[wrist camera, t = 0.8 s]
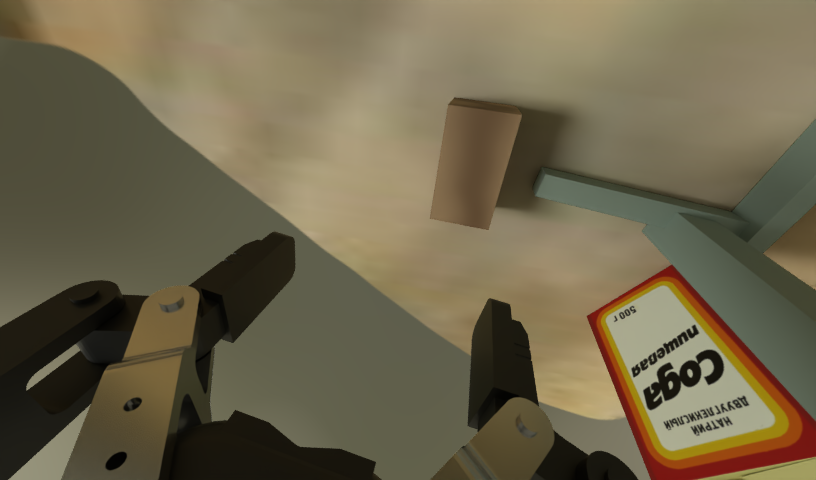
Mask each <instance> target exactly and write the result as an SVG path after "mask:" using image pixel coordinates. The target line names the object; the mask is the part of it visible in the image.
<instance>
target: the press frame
mask: <svg viewBox="0 0 816 480" xmlns="http://www.w3.org/2000/svg"><path fill="white" fill-rule="evenodd" d="M533 191H534V194H535V196H536V197H540V198H544V199H548V200H552V201H556V202H560V203H564V204H568V205H572V206H576V207H580V208H585V209H589V210H593V211H597V212H601V213H605V214H609V215H613V216H617V217H621V218H625V219H629V220H633V221H637V222H641V223H645V224H647V225H646V227H645V228H644V229H643V231H642V232H643V233H644V234H645V235H646V236H647V238H648V239H649V240H650V241H651V242H652V243H653V244H654V245H655V246H656V247H657V248H658V250H659V251H660V252H661V253H662V254H663V255H664V256H665V257H666V258H667V259H668V260H669V262H670V263H671V264H672V265H673V266H674V267H675V268H676V269H677V270H678V271H679V272H680V274H681V275H682V276H683V277H684V278H685V279H686V280H687V281H688V282H689V283H690V285H691V286H692V287H693V288H694V289H695V290H696V291H697V292H698V293H699V294H700V295H701V297H702V298H703V299H704V300H705V301H706V302H707V303H708V304H709V305H710V306H711V307H712V309H713V310H714V311H715V312H716V313H717V314H718V315H719V316H720V317H721V318H722V319H723V321H724V322H725V323H726V324H727V325H728V326H729V327H730V328H731V329H732V330H733V331H734V333H735V334H736V335H737V336H738V337H739V338H740V339H741V340H742V341H743V342H744V343H745V345H746V346H747V347H748V348H749V349H750V350H751V351H752V352H753V353H754V354H755V355H756V357H757V358H758V359H759V360H760V361H761V362H762V363H763V364H764V365H765V366H766V367H767V369H768V370H769V371H770V372H771V373H772V374H773V375H774V376H775V377H776V378H777V379H778V381H779V382H780V383H781V384H782V385H783V386H784V387H785V388H786V389H787V390H788V391H789V393H790V394H791V395H792V396H793V397H794V398H795V399H796V400H797V401H798V402H799V403H800V405H801V406H802V407H803V408H804V409H805V410H806V411H807V412H808V413H809V414H810V415H811V417H812V418H813V419H814V420H815V421H816V290H814V289H813V288H811V287H810V286H809V285H807V284H806V283H804V282H803V281H801V280H800V279H798V278H797V277H796V276H794V275H793V274H791V273H790V272H788V271H787V270H786V269H784V268H783V267H781V266H780V265H778V264H777V263H775V262H774V261H773V260H771V259H770V258H768V257H767V256H765V255H764V254H763V253H764V252H765V251H766V250H767V249H768V248H769V247H770V246H771V245H772V244H773V243H774V242H776V241H777V240H778V239H779V238H780V237H781V236H782V235H783V234H784V233H785V232H786V231H787V230H788V229H789V228H791V227H792V226H793V225H794V224H795V223H796V222H797V221H798V220H799V219H800V218H801V217H802V216H803V215H805V214H806V213H807V212H808V211H809V210H810V209H811V208H812V207H813V206H814V205H815V204H816V119H815V120H814V121H813V123H812V124H811V125H810V126H809V127H808V128H807V129H806V130H805V131H804V132H803V134H802V135H801V136H800V137H799V138H798V139H797V140H796V141H795V142H794V144H793V145H792V146H791V147H790V148H789V149H788V150H787V151H786V152H785V153H784V155H783V156H782V157H781V158H780V159H779V160H778V161H777V162H776V163H775V164H774V166H773V167H772V168H771V169H770V170H769V171H768V172H767V173H766V174H765V176H764V177H763V178H762V179H761V180H760V181H759V182H758V183H757V184H756V185H755V187H754V188H753V189H752V190H751V191H750V192H749V193H748V194H747V195H746V196H745V198H744V199H743V200H742V201H741V202H740V203H739V204H738V205H737V206H736V207H735V209H734V210H733V211H732V212H730V211H726V210H722V209H718V208H713V207H709V206H705V205H701V204H697V203H692V202H688V201H684V200H680V199H675V198H671V197H667V196H663V195H658V194H654V193H650V192H646V191H642V190H637V189H633V188H629V187H625V186H620V185H616V184H612V183H608V182H604V181H599V180H595V179H591V178H587V177H582V176H578V175H574V174H570V173H566V172H561V171H557V170H553V169H549V168H544V167H541V170H540V172H539V174H538V176H537V179H536V181H535V183H534V185H533Z"/></svg>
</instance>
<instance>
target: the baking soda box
mask: <svg viewBox="0 0 816 480" xmlns="http://www.w3.org/2000/svg"><path fill="white" fill-rule="evenodd" d="M587 318H588V321H589V324H590V326H591V329H592V331H593V334H594V336H595V339H596V341H597V344H598V346H599V349H600V351H601V354H602V356H603V359H604V362H605V364H606V367H607V369H608V372H609V374H610V377H611V379H612V382H613V384H614V387H615V389H616V392H617V395H618V397H619V400H620V402H621V405H622V407H623V410H624V412H625V415H626V417H627V420H628V422H629V425H630V427H631V430H632V433H633V435H634V438H635V440H636V443H637V445H638V448H639V450H640V453H641V455H642V458H643V460H644V463H645V465H646V468H647V470H648V473H649V476H650V478H651V480H816V421H815V420H814V419H813V418H812V417H811V415H810V414H809V413H808V412H807V411H806V410H805V409H804V408H803V407H802V406H801V405H800V403H799V402H798V401H797V400H796V399H795V398H794V397H793V396H792V395H791V394H790V393H789V391H788V390H787V389H786V388H785V387H784V386H783V385H782V384H781V383H780V382H779V381H778V379H777V378H776V377H775V376H774V375H773V374H772V373H771V372H770V371H769V370H768V369H767V367H766V366H765V365H764V364H763V363H762V362H761V361H760V360H759V359H758V358H757V357H756V355H755V354H754V353H753V352H752V351H751V350H750V349H749V348H748V347H747V346H746V345H745V343H744V342H743V341H742V340H741V339H740V338H739V337H738V336H737V335H736V334H735V333H734V331H733V330H732V329H731V328H730V327H729V326H728V325H727V324H726V323H725V322H724V321H723V319H722V318H721V317H720V316H719V315H718V314H717V313H716V312H715V311H714V310H713V309H712V307H711V306H710V305H709V304H708V303H707V302H706V301H705V300H704V299H703V298H702V297H701V295H700V294H699V293H698V292H697V291H696V290H695V289H694V288H693V287H692V286H691V285H690V283H689V282H688V281H687V280H686V279H685V278H684V277H683V276H682V275H681V274H680V272H679V271H678V270H677V269H676V268H675V267H674V266H673V265H671V266H669V267H667V268H666V269H664V270H662V271H661V272H659V273H657V274H656V275H654V276H652V277H651V278H649V279H648V280H646V281H644V282H643V283H641V284H639V285H638V286H636V287H634V288H633V289H631V290H629V291H628V292H626V293H624V294H623V295H621V296H619V297H618V298H616V299H615V300H613V301H611V302H610V303H608V304H606V305H605V306H603V307H601V308H600V309H598V310H596V311H595V312H593V313H591V314H590V315H588V316H587Z"/></svg>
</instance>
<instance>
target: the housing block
mask: <svg viewBox="0 0 816 480" xmlns="http://www.w3.org/2000/svg"><path fill="white" fill-rule="evenodd" d="M521 118H522V114H521V113H520V111H519V110H518V108H517V107H516V106H512V105H505V104H498V103H491V102H483V101H476V100H469V99H461V98H454V99H453V100H452V101H451V102H450V103H449V104H448V109H447V115H446V122H445V128H444V134H443V140H442V146H441V153H440V159H439V165H438V171H437V178H436V184H435V190H434V196H433V202H432V209H431V215H430V219H435V220H440V221H445V222H450V223H455V224H460V225H465V226H470V227H476V228H481V229H486V230H489V226H490V223H491V219H492V216H493V213H494V209H495V206H496V202H497V199H498V196H499V192H500V189H501V185H502V182H503V179H504V175H505V172H506V168H507V165H508V162H509V158H510V155H511V152H512V148H513V145H514V141H515V138H516V135H517V131H518V128H519V124H520V121H521Z"/></svg>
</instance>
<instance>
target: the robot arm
mask: <svg viewBox="0 0 816 480" xmlns="http://www.w3.org/2000/svg"><path fill="white" fill-rule="evenodd" d="M294 271H295V241H294V238H293V237H291V236H288V235H285V234H281V233H278V232H272V233H271V234H269V235H268V236H267V237H265V238H264V239H263V240H255V241H253V242H250V243H248V244H245V245H243V246H242V247H240V248H239V249H238V250H237V251H235V252H234V253H233V255H232V254H231V255H230V256H228V257H227V258H226V259H225V260H224V261H222V262H220V263H219V264H217V265H216V266H215V267H213V268H212V269H211V270H209V271H208V272H207V273H205V274H204V275H203V276H201V277H200V278H199V279H197V280H196V281H195V282H194V283H192V284H191V285H189V286H173V287H168V288H165V289H162V290H160V291H157V292H155V293H154V294H152V295H151V296H139V295H122V293H121V291H120V289H119V288H118V286H117V285H116V284H115V283H113V282H110V281H103V280H100V281H90V282H85V283H81V284H78V285H75V286H73V287H71V288H68V289H66V290H65V291H62V292H61V293H59V294H57V295H56V296H54V297H52V298H50V299H49V300H47V301H45V302H43V303H42V304H40V305H38V306H36V307H35V308H33V309H31V310H29V311H28V312H26V313H24V314H22V315H21V316H19V317H17V318H15V319H14V320H12V321H11V322H9V323H7V324H5V325H3V326H2V327H0V480H8V479H9V478H11V477H12V476H13V475H14V474H15V473H16V472H17V471H18V470H19V469H20V468H21V467H22V466H24V465H25V464H26V463H27V462H28V461H29V460H30V459H31V458H32V457H33V456H34V455H36V454H37V452H39V451H40V450H41V449H42V448H43V447H44V446H45V445H46V444H48V442H50V441H51V440H52V439H53V438H54V437H55V436H56V435H57V434H58V433H59V432H61V431H62V430H63V429H64V428H65V427H66V426H67V425H68V424H69V423H70V422H72V421H73V420H74V419H75V418H76V417H77V416H78V415H79V414H80V413H81V412H82V411H84V410H85V408H87V407H88V406H89V405H90V404H91V405H90V408H89V411H88V413H87V416H86V418H85V421H84V423H83V426H82V428H81V431H80V433H79V436H78V438H77V441H76V443H75V446H74V449H73V451H72V453H71V456H70V458H69V461H68V463H67V466H66V468H65V471H64V474H63V476H62V479H61V480H381V479H380V478H379V477H378V476H377V475H376V474H374V473H373V472H374V468H375V464H376V462H374V461H372V460H369V459H366V458H363V457H361V456H358V455H355V454H353V453H350V452H347V451H345V450H342V449H332V448H331V449H330V448H310V447H308V448H307V447H299V446H297V445H296V444H294V443H293V442H291V440H289V439H288V438H287V437H286V436H284V435H283V434H282V433H281V432H280V431H278V430H277V429H276V428H275V427H274V426H272V425H271V424H270V423H269V422H266V421H264V420H261V419H258V418H255V417H253V416H250V415H247V414H245V413H242V412H239V411H236V410H235V411H234V412H233V414H232V415H231V417H230V418H229V419H228V421H226V420H224V421H214V422H212V415H211V406H210V397H211V386H212V376H213V365H214V354H215V347H214V346H215V344H216V343H217V342H218V341H219V340H220V339H223V340H226V341H229V342H231V343H234V341H235V340H236V339H237V338H238V337H239V336H240V335H241V334H242V332H244V330H245V329H246V328H247V327H248V326H249V325H250V324H251V323H252V322H253V320H254V319H255V318H256V317H257V316H258V315H259V314H260V313H261V312H262V311H263V310H264V308H265V307H266V306H267V305H268V304H269V303H270V302H271V301H272V299H274V297H275V296H276V295H277V294H278V293H279V292H280V290H282V289H283V287H284V286H285V285H286V284H287V283H288V282H289V281H290V280H291V278H292V276H293V274H294ZM74 344H76V345H77V346H78V347H79V349H80V351H79V352H78V353H76V354H75V355H74V356H72V357H71V358H70V359H68V360H67V361H66V362H64V363H63V364H62V365H61V366H59V367H58V368H56V369H55V370H54V371H52V372H51V373H50V374H49V375H47V376H46V377H45V378H43V379H42V380H41V381H39V382H38V383H37V384H35V385H34V386H33V387H31V388H30V389H29V390H27V391H26V386H27V383H28V381H29V380H30V379H31V377H32V376H33V375H34V374H35V373H36V372H38V371H39V370H40V369H42V368H43V367H44V366H46V365H47V364H49V363H50V362H51V361H53V360H54V359H55V358H57V357H58V356H59V355H61V354H62V353H64V352H65V351H66V350H68V349H69V348H70V347H72V346H73V345H74ZM529 348H530V346H529V340H528V334H527V333H526V331H525V329H524V327H523V326H522V324H521V322H519V321H516V320H512V317H511V307H510V304H507V303H504V302H501V301H498V300H494V299H491V298H489V299H488V301H487V303H486V305H485V307H484V309H483V311H482V313H481V315H480V317H479V319H478V321H477V323H476V325H475V328H474V331H473V336H472V349H471V370H470V389H469V390H470V391H469V409H468V426H469V427H472V428H475V429H478V433H477V434H476V435H475V436H474V437H473V438H472V439H471V440H470V441H469V442H468V443H467V444H466V445H465V446H463V447H461V448H460V449H459V450H458V451H457V452H456V453H455V454H454V455H453V456H452V457H451V458H450V459H449V460H448V461H447V463H446V464H445V465H444V466H443V467H442V468H441V469H440V470H439V471H438V472H437V473H436V474H435V475H434V476H433V477H432V478H431V479H430V480H638V479H637V477H636V476H635V475H634V473H633V472H632V471H631V470H630V469H629V467H627V466H626V465H625V464H624V463H623V462H622V461H620V459H618V458H617V457H615V456H613V455H611V454H610V453H607V452H604V451H595V452H593V453H591V454H590V455H587V454H586V453H584V452H583V451H581V450H580V449H579V448H577V447H576V446H574V445H573V444H571V443H569V442H568V441H567V440H565V439H564V438H563V437H561V436H560V435H559V434H558V433H556V432H555V431H554V430H553V427H552V424H551V422H550V420H549V418H548V417H547V415H546V414H545V413H544V411H543V410H542V409H541V408H540V407H539V403H538V398H537V391H536V385H535V378H534V372H533V365H532V361H531V353H530V350H529Z"/></svg>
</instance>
